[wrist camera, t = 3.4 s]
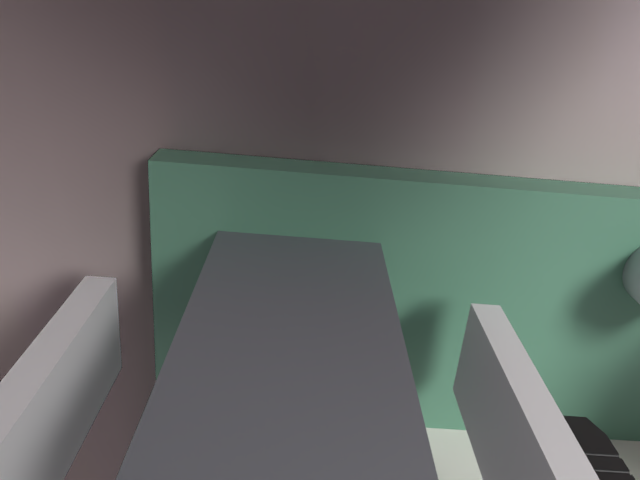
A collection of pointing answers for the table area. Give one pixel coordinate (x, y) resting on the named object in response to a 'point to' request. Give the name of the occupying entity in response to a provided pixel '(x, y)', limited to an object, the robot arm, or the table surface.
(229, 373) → the plug
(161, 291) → the board
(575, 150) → the table surface
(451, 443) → the header
